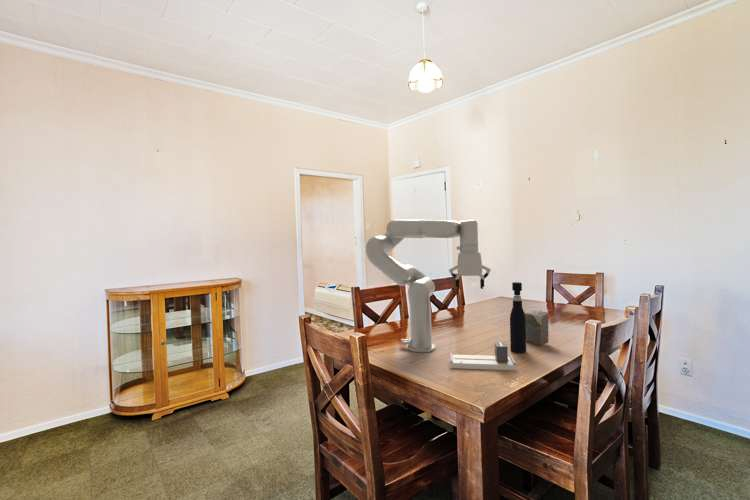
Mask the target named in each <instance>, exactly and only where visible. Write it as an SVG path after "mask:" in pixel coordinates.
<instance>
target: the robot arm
mask: <svg viewBox="0 0 750 500" xmlns="http://www.w3.org/2000/svg"><path fill="white" fill-rule="evenodd" d="M478 225H479V224H478V221H477V220H475V219H467V220H465V219H464V220H461V221H459V220H458V221H457V220H450V219H447V220H445V219H443V220H442V219H440V220H439V219H438V220H435V219H428V220H427V219H420V218H419V219H418V218H417V219H391V220H390V221H388V223H387V224H386V228H385V229H386V232H385V233H384V234H383V235H376V236H372V237H370V238H369V239H368V241H367V242H366V245H365V254H366V256H367V259H368V261H369V262H370V263H371V264H372V265H373V266H374V267H375V268H376V269H378V270H379V271H380V272H381V273H382V274H383V275H385V276H386V277H388V279H390V280H391V281H392V282H393V283H394V284H396V285H398V286H400V287H403V286H408V289H407V296H408V297H407V299H408V302H409V303H408V304H409V320H410V323H409V324H410V338H408V339H407V338H401V344H403V345H407V350H409V351H410V352H415V353H431V352H433V351H435V349H436V345H435V343H434V344H433V342H432V341H433V339H432V311H431V310H432V309H431V308H432V307H431V303H430V302H431V301H430V297H431V296H433V295H434V293H435V291H436V286H435V283H434V281H433V280H432V279H431V278H430V277H429V276H428V275H426V274H425V273H423V272H422V271H420V269H419V268H417V267H415V266H414V265H411V264H407V263H406V264H401V262H399V261H398V260H396V259H395V258H394V257H393V256H391V255H389V254H388V253H389V252H391V251H392V250H394V249H395V248H396V246H398V245H399V244H400V243H401V242H402V241H403V240H405V238H406V239H424V238H425V239H426V238H433V239H438V238H439V239H450V238H451V239H453V238H459V245H458V246H456V251H458V254H457V262H456V263H457V265H455V266H453V267H451V268H449V269H448V271H449V274H450V275H451V276H452V278H453V279H454V280H455V287H456V288H457V289H458V290H460V277H462V276H463V277H467V276H468V277H469V276H471V277H472V276H473V277H474V276H477V277H480V281H479V282H480V286H479V287H480V289H481V290H483V289H484V287H485V279H486V278H487V277H489V275H490V272H491V268H489V267H487V266H485V265H483V263H482V256H481V255H482V254H481V252H480V251H479V237H478V236H479V235H478V234H479V231H478V230H479V227H478ZM456 270H457V274H455V273H454V271H456ZM483 270H485V271H486V272H485V273H484V274H483Z"/></svg>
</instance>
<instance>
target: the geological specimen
mask: <svg viewBox="0 0 750 500" xmlns="http://www.w3.org/2000/svg"><path fill="white" fill-rule="evenodd" d="M524 314H525V319H526V341H529V342H530V343H532V344H535V345H538V346H544V345H547V344H548V343H549V319H550V318H549V315H550V314H549V313H548V312H547V311H542V310H537V309H535V310H527V311H524Z"/></svg>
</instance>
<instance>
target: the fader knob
mask: <svg viewBox="0 0 750 500" xmlns="http://www.w3.org/2000/svg"><path fill="white" fill-rule="evenodd" d="M508 350H509V349H508V344H507V343H506V342H505V341H494V356H495V358H496V361H497V362H508V356H509V353H508Z"/></svg>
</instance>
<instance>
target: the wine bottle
mask: <svg viewBox="0 0 750 500" xmlns="http://www.w3.org/2000/svg"><path fill="white" fill-rule="evenodd" d="M522 284H523V283H522V282H518V281H517V282H512V283H511V285H512V286H511V287H512V288H511V289H512V291H513V297H512V299H513V300H512V308H511V311H510V314H509V337H510V339H509V341H510V352H511V353H513V354H517V355H518V354H520V355H522V354H526V353H527V340H526V319H525V314H524V312H525V311H524V309H523V300H522V296H521V292H522V290H523V285H522Z"/></svg>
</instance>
